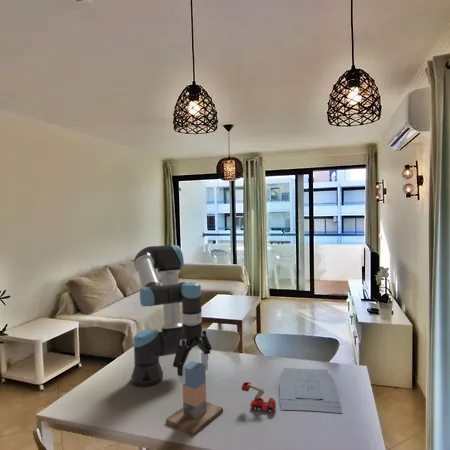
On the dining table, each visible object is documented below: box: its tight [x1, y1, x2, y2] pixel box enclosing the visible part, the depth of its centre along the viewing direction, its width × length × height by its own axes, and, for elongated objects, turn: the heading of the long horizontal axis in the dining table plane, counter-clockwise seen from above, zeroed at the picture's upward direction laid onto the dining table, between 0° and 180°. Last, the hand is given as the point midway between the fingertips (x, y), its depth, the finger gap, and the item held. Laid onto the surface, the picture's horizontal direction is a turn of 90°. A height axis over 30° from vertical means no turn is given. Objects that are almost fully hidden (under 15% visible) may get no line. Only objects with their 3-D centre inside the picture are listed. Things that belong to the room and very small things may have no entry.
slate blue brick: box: [182, 360, 207, 389], centre depth 137 cm, size 6×6×7 cm
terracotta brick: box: [182, 382, 207, 407], centre depth 137 cm, size 6×6×7 cm
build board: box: [165, 399, 224, 436], centre depth 138 cm, size 14×18×6 cm
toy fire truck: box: [241, 381, 277, 413], centre depth 142 cm, size 3×14×10 cm, turn 71°
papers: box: [279, 367, 343, 414], centre depth 154 cm, size 24×30×4 cm
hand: (193, 376), depth 137 cm, fingers open, 13 cm apart
